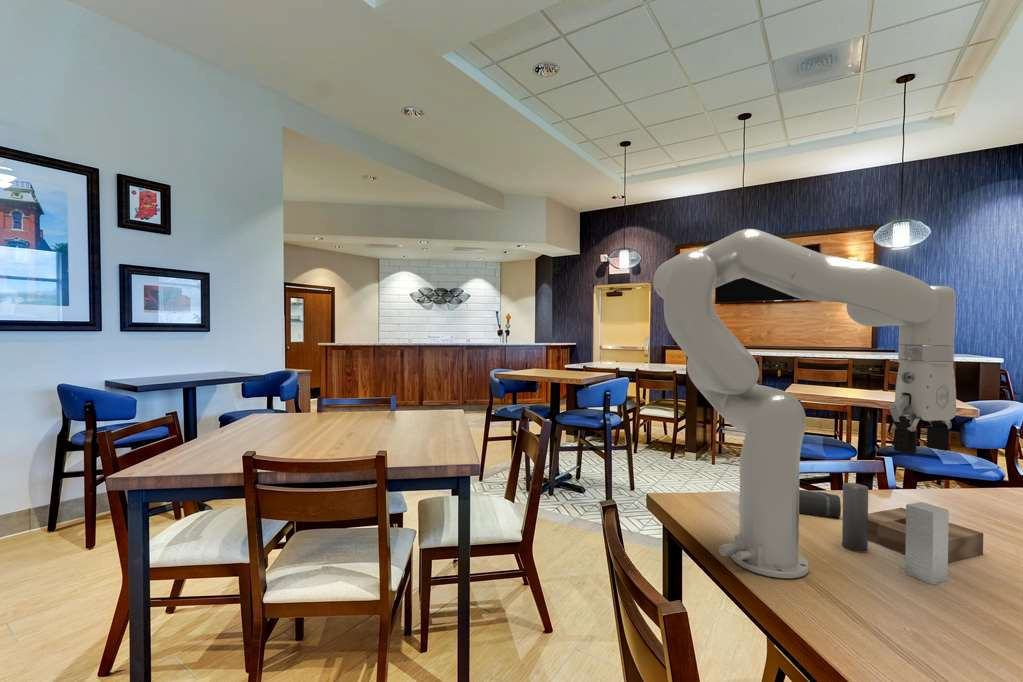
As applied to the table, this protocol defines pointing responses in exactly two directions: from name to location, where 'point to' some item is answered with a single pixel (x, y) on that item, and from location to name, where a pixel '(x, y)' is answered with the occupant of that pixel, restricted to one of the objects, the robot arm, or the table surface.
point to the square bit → (927, 542)
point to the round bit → (855, 517)
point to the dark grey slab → (819, 503)
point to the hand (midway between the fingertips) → (921, 450)
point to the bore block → (892, 534)
